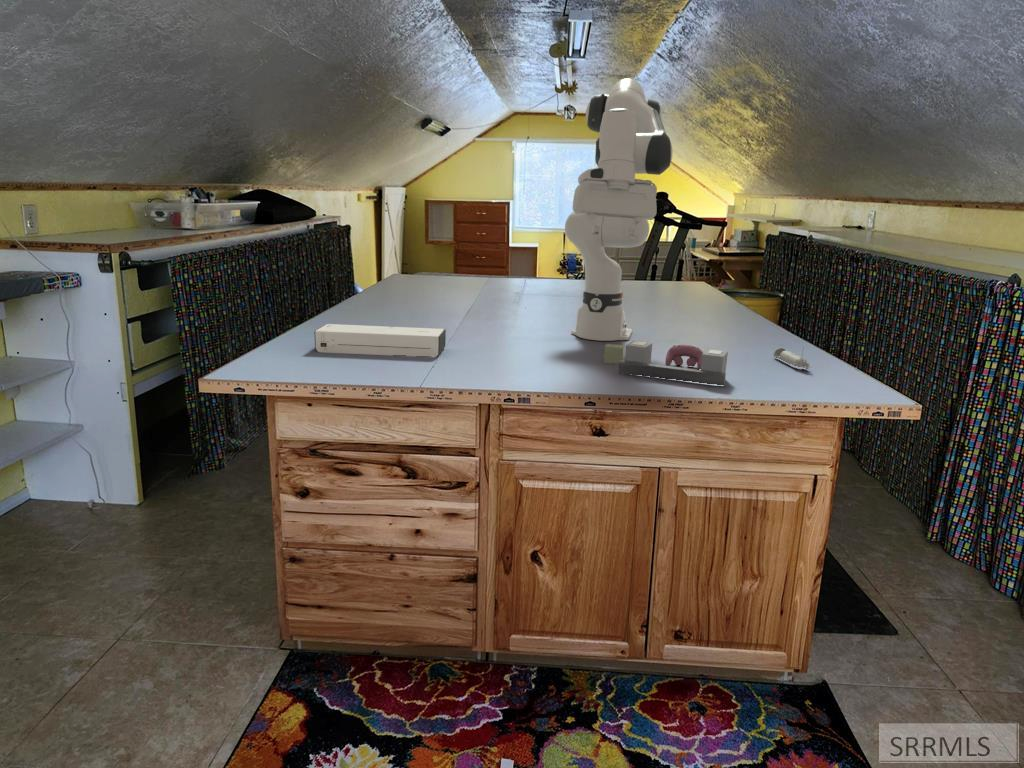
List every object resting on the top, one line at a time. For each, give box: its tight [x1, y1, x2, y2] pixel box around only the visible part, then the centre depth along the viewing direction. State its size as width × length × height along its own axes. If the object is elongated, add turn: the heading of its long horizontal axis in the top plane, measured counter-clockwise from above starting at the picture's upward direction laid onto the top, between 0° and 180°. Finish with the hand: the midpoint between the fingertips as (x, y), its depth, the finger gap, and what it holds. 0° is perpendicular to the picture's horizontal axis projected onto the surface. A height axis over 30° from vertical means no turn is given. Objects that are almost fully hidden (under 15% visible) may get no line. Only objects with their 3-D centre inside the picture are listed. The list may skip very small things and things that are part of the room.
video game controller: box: [665, 344, 704, 370], centre depth 195 cm, size 10×5×7 cm, turn 71°
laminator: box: [314, 323, 447, 358], centre depth 202 cm, size 34×12×6 cm, turn 86°
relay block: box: [603, 343, 626, 364], centre depth 198 cm, size 4×5×4 cm
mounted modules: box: [624, 340, 729, 374], centre depth 184 cm, size 7×24×7 cm, turn 65°
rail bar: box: [618, 359, 727, 385], centre depth 180 cm, size 2×26×3 cm, turn 65°
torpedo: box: [773, 346, 812, 370], centre depth 199 cm, size 18×5×6 cm, turn 6°
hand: (613, 235), depth 175 cm, fingers open, 8 cm apart
